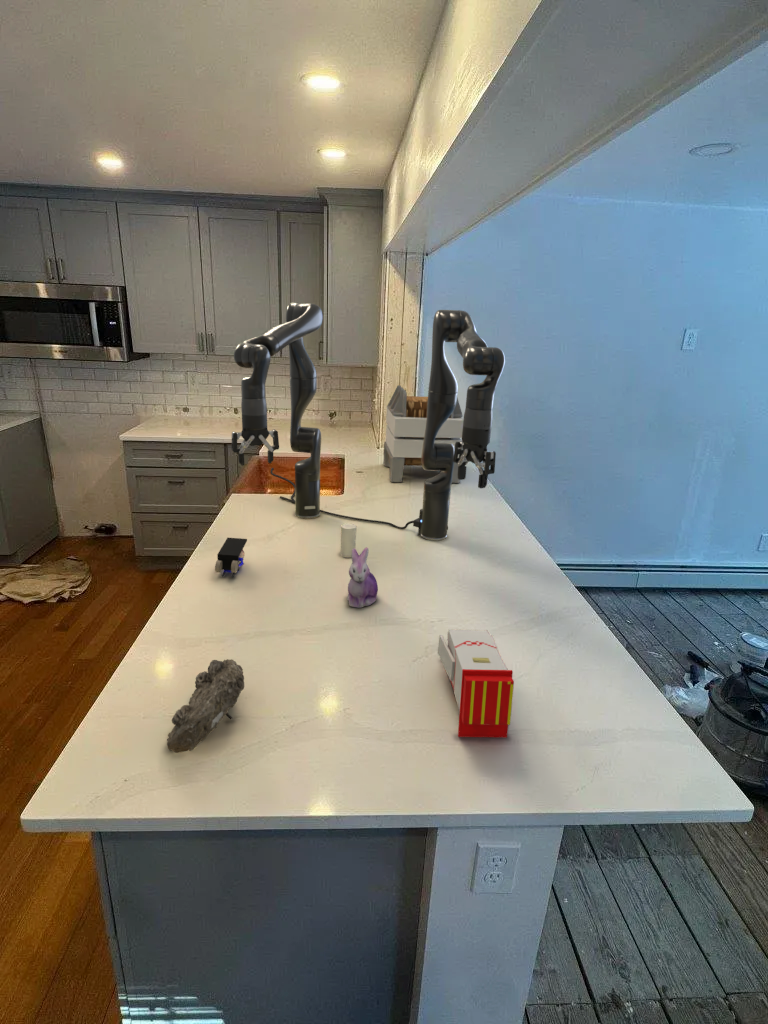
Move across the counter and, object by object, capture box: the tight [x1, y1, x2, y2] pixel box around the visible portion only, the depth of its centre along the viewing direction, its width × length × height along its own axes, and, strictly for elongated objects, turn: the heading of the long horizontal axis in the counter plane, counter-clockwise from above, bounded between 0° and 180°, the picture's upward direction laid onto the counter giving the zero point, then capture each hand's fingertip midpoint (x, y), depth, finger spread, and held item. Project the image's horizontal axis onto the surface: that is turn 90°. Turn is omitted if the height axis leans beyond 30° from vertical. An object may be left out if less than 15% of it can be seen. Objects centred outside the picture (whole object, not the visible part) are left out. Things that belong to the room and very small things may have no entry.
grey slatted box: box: [383, 384, 464, 484], centre depth 268 cm, size 34×33×41 cm
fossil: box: [166, 658, 245, 754], centre depth 106 cm, size 22×10×15 cm
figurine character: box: [214, 537, 248, 578], centre depth 166 cm, size 7×8×15 cm
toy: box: [437, 628, 515, 738], centre depth 117 cm, size 12×13×30 cm
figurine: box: [346, 546, 379, 609], centre depth 151 cm, size 9×10×15 cm
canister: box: [339, 522, 357, 558], centre depth 180 cm, size 5×5×10 cm
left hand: (256, 463), depth 177 cm, fingers open, 8 cm apart
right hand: (471, 483), depth 156 cm, fingers open, 8 cm apart
